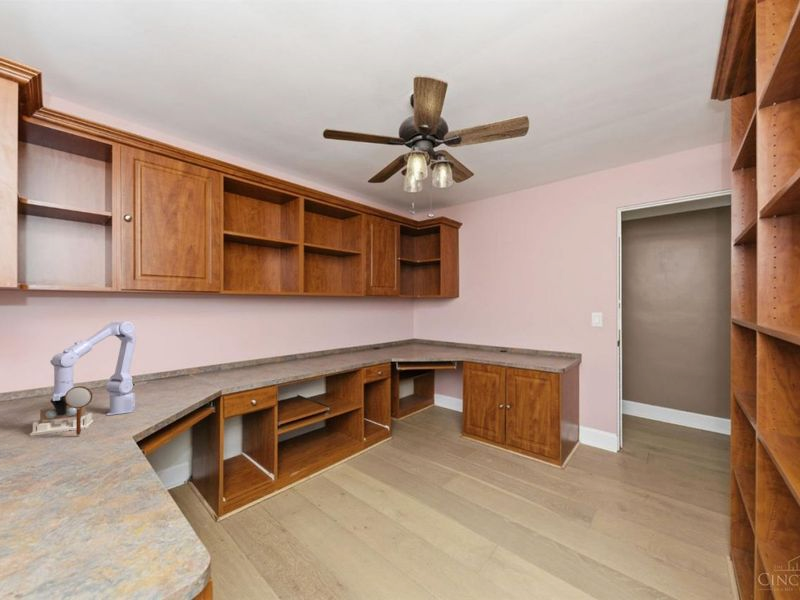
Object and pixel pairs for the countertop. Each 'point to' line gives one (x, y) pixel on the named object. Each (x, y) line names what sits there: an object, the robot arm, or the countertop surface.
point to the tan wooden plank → (51, 414)
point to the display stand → (59, 425)
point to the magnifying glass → (78, 402)
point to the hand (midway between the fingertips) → (63, 413)
